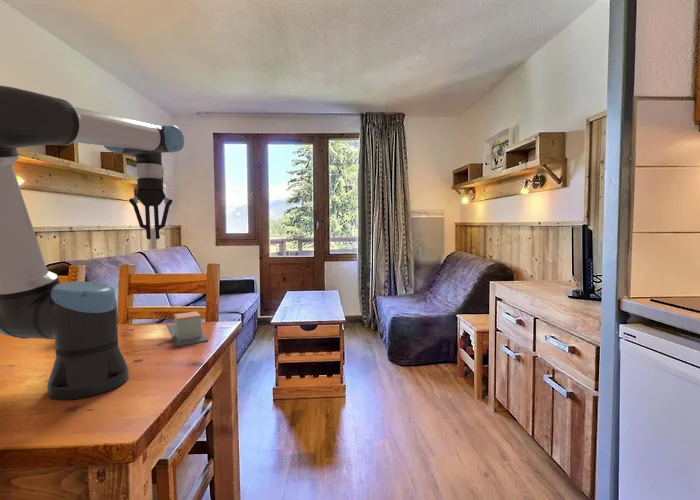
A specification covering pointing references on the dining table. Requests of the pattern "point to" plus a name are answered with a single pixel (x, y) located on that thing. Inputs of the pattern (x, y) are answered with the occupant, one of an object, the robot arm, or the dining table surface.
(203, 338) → the mat
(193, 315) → the block
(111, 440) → the dining table surface
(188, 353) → the dining table surface
